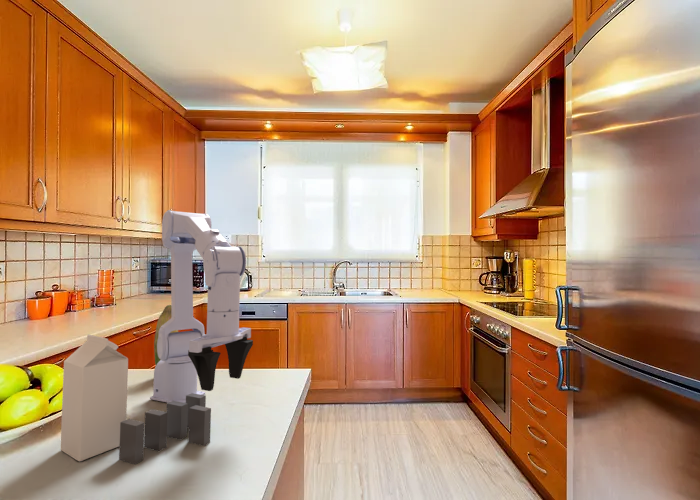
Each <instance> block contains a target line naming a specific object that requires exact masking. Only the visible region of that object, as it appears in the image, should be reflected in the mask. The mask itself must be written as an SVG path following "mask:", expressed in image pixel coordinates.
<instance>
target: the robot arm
mask: <svg viewBox="0 0 700 500" xmlns="http://www.w3.org/2000/svg"><path fill="white" fill-rule="evenodd" d="M161 241H162V246H163V247H165V248H166V249H168V250H169V254H170V255H169V256H170V275H171V276H170V279H171V280H170V281H171V282H170V287H171V288H170V289H171V290H170V292H171V294H170V295H171V296H170V297H171V301H170V302H171V304H170V305H171V308H172V318H171V319H170V320H169V321H167V322H166V323H165V324H163V325H162V326H161V327H160V329H159V334H158V340H157V353H158V357H159V359H161V360H160V361H159V362H158V363H157V365H155V368H154V369H153V389H152V390H153V391H152V392H153V393H152V394H153V395H152V396H150V397H149V399H150V400H154V401H159V402H162V403H166V404H167V403H169V402H171V401H178V402H183V403H186V395H188V394H191V393H194V394H199V395H206V392H205V391H207V392H212V391H213V390H214V387H215V381H216V380H215V379H216V378H215V376H216V369H217V364H218V361H219V359H220V356H221V352H219V351H214V349H212V348H216V347H218V346H222V345H225V349H226V354H227V359H228V375H229V378H232V379H237V380H238V379H241V377H242V374H243V369H244V366H245V362H246V359H247V357H248V355H249V352H250V350H251V349H252V347H253V345H254V340H253V339H251V338H252V328H251V327H240V304H241V303H240V302H241V301H240V294H241V277H242V276H243V275H244V274H245V270H246V268H247V267H246V266H247V255H246V252H245V250H244V249H243V247H242V246H241V245H240V246H239V245H237V246H232V245H231V244H230V243H229V241H228V240H227V239H226V238H225V237H224V236H223V235H222V233H220V230H219V229H213V228H212V219H211V216H209V214H208V213H205V212H204V213H197V212H189V211H188V212H186V211H176V210H171V209H168V210H166V211H165V212H164V214H163V216H162V222H161ZM194 251H197V252H198V254H199V255H200V256H201V258H202V259H203V271H204V277H205V278H204V280H205V281H204V282H205V286H207V302H206V303H207V308H206V310H207V311H206V312H207V313H206V332H205V326H204V324H203V323H202V322H201V321H199V320H198V319H196V318H195V317H194V295H193V294H194V291H193V290H194V288H193V287H194V285H193V284H194V283H193V253H194ZM174 330H178V332H174V333H170V332H171V331H174ZM181 330H182V331H181ZM183 330H185V331H183ZM205 333H206V334H205ZM198 381H199V385H200V390H198ZM201 390H202V391H201Z"/></svg>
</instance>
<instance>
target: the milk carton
mask: <svg viewBox="0 0 700 500" xmlns="http://www.w3.org/2000/svg"><path fill="white" fill-rule="evenodd" d="M86 336H87V337H86V341H84V343H82V344H81V345H80V346H79V347H78V348H77V349H76V350H74V352H72V353H71V354H70V355H69V356H68V357H67V358H66V359H65V360H63V376H62V377H63V380H62V399H61V400H62V402H61V403H62V405H61V433H60V450H61V451H62V452H64V453H65V454H66V455H68V456H69V457H71V458H72V459H75V460H76V461H78V462H82V461H85V460H88V459H90V458H92V457H95V456H98V455H101V454H103V453H105V452H108V451H111V450H113V449H115V448H116V449H117V448H120V422H122V421H125V420H127V408H128V404H127V402H128V375H129V358H128V357H127V356H125V355H123V354H122V353H121V352H119V351H117V349H119V346H118V345H117V344H116V343H114V342H113V341H110V340H109V338H105V337H102V336H97V335H94V334H87V335H86Z"/></svg>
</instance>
